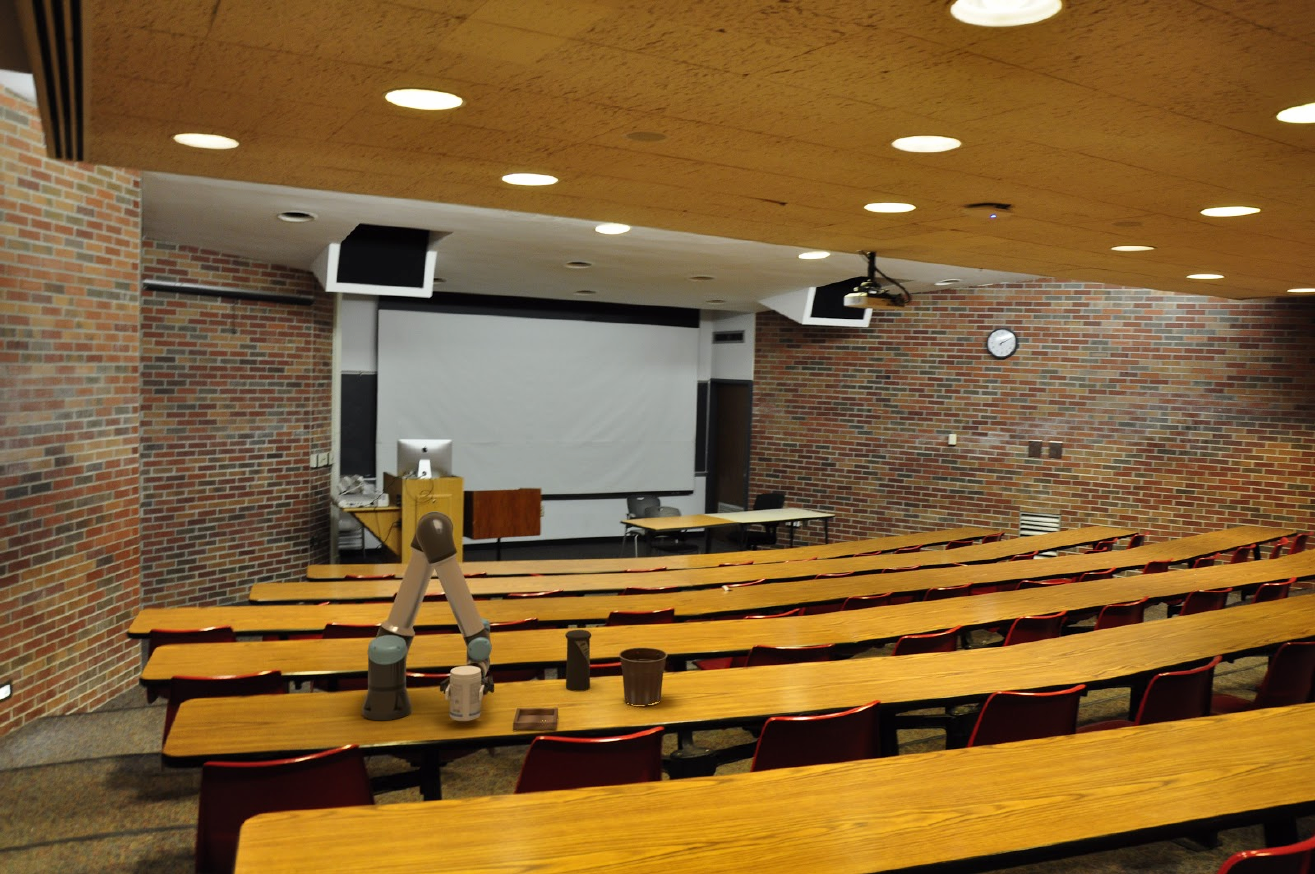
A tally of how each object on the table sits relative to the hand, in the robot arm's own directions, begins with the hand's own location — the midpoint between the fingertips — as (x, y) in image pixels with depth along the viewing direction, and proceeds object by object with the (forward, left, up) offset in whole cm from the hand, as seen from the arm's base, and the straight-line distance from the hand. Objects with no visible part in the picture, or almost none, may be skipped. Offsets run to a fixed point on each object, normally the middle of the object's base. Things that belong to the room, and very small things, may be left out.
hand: (463, 695), depth 282 cm
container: (+34, +39, -10) cm, 53 cm away
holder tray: (+22, +4, -10) cm, 24 cm away
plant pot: (+56, +24, -10) cm, 62 cm away
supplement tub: (0, +4, -8) cm, 9 cm away
